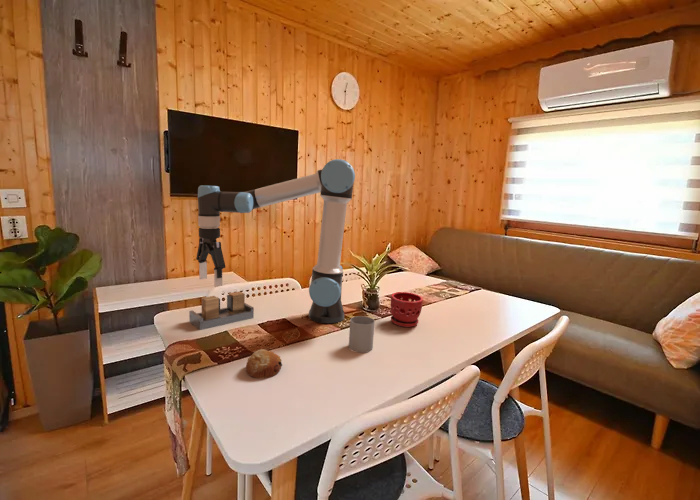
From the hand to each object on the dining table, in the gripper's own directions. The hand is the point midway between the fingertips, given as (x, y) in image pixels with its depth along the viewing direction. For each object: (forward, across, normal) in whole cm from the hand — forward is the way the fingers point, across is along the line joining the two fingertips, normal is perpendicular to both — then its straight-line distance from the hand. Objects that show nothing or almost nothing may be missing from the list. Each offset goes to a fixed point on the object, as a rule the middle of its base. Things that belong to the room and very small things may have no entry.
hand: (210, 282), depth 139 cm
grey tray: (+16, 0, -5) cm, 17 cm away
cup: (+17, -52, -31) cm, 62 cm away
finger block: (+14, 0, 0) cm, 14 cm away
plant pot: (+18, -47, -63) cm, 80 cm away
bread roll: (+17, -45, +4) cm, 48 cm away
